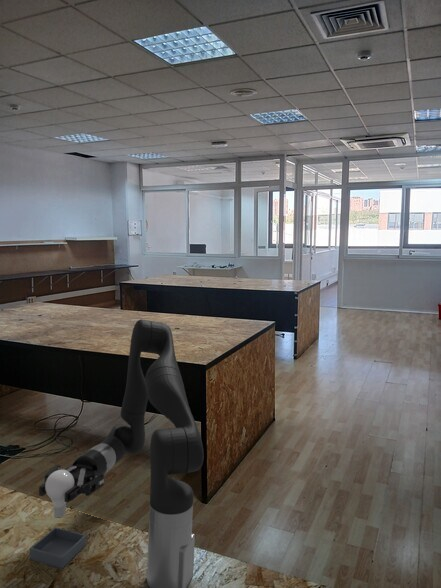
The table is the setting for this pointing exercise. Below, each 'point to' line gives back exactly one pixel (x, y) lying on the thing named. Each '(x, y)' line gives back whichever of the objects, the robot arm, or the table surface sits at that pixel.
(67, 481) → the lightbulb
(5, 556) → the table surface
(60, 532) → the walled box
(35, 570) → the table surface
